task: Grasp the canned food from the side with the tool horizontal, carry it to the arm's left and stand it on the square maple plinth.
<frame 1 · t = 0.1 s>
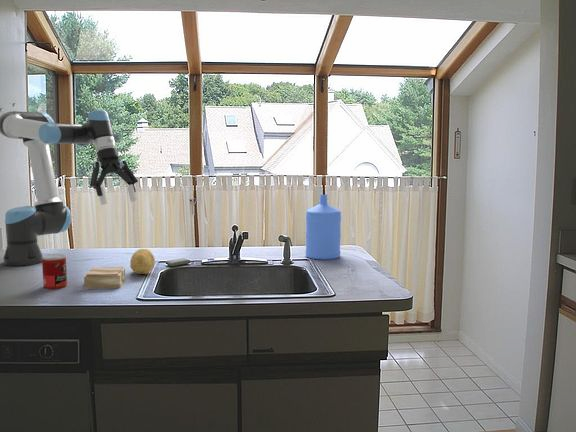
hand: (119, 202, 211), 28 cm above the countertop, tool tilted 20°, fingers open, 13 cm apart
water jug: (322, 256, 248), on the countertop
potato: (141, 274, 214), on the countertop
plinth: (105, 284, 198), on the countertop
canned food: (55, 287, 195), on the countertop
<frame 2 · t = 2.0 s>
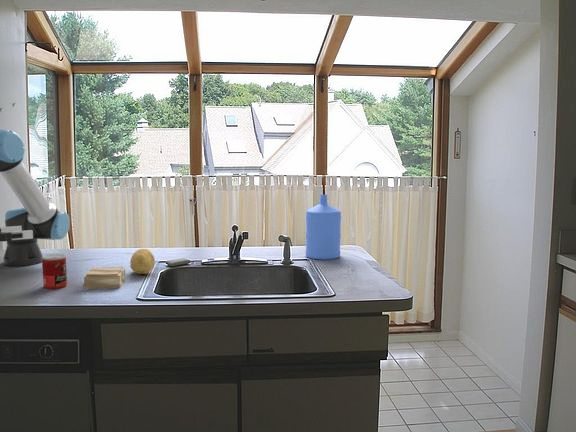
hand: (27, 231, 187), 20 cm above the countertop, tool horizontal, fingers open, 13 cm apart
nothing on the countertop moved.
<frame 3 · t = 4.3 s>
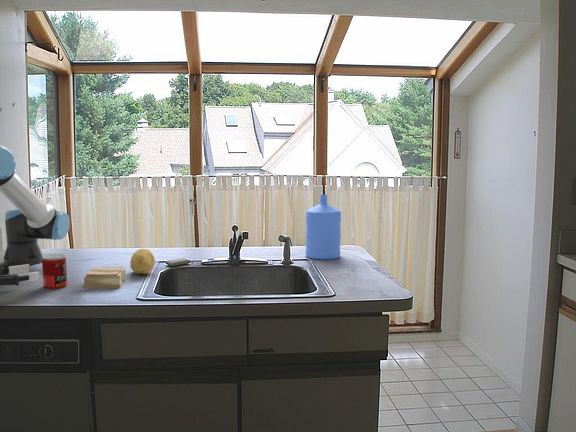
hand: (34, 271, 189), 6 cm above the countertop, tool horizontal, fingers open, 13 cm apart
nothing on the countertop moved.
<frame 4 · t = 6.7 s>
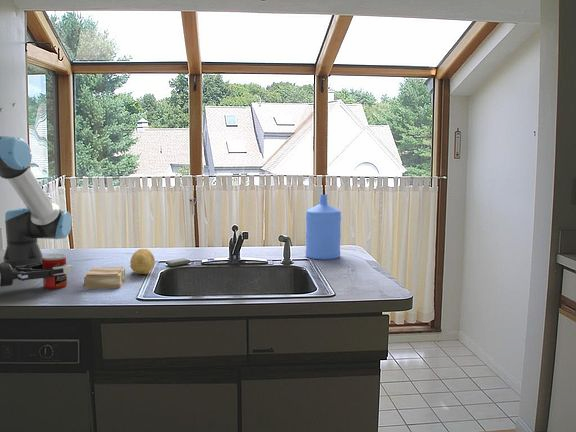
hand: (68, 266, 197), 7 cm above the countertop, tool horizontal, fingers closed on canned food, 8 cm apart
canned food: (55, 286, 195), on the countertop, touching gripper
everything else where it was.
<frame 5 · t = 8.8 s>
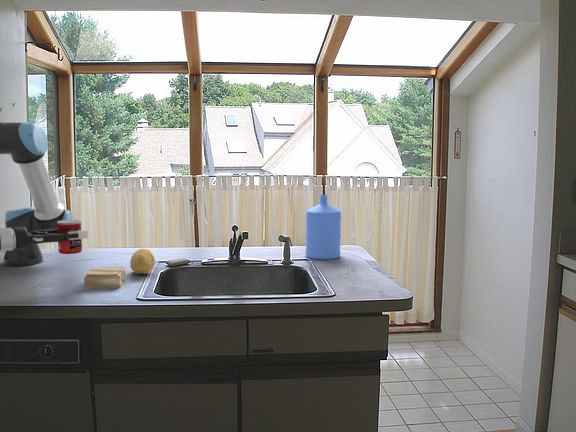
hand: (83, 232, 195), 19 cm above the countertop, tool horizontal, fingers closed on canned food, 8 cm apart
canned food: (70, 252, 193), point 12 cm above the countertop, touching gripper
everything else where it was.
when the fingers open (13 cm above the countertop, at t = 11.0 s): canned food drops 1 cm, resting on plinth.
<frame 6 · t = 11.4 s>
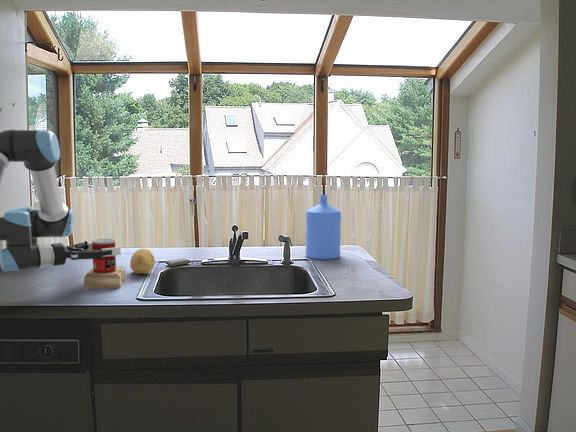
hand: (113, 247, 198), 13 cm above the countertop, tool horizontal, fingers open, 13 cm apart
canned food: (104, 271, 197), point 5 cm above the countertop, touching plinth
everything else where it was.
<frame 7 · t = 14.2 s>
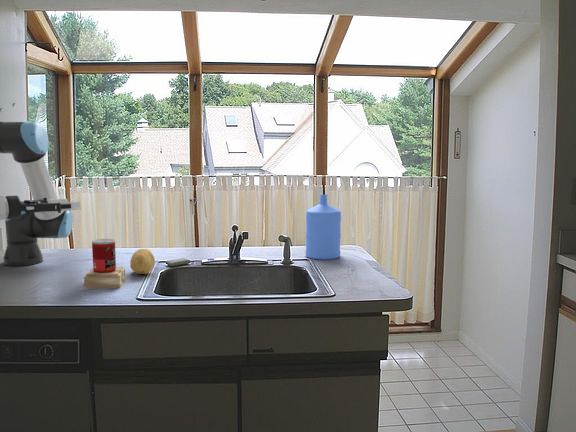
hand: (73, 203, 188), 30 cm above the countertop, tool horizontal, fingers open, 13 cm apart
nothing on the countertop moved.
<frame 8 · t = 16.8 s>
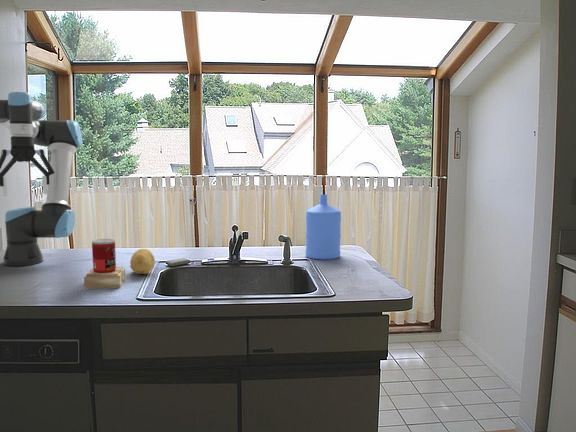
hand: (25, 194, 200), 32 cm above the countertop, tool pointing down, fingers open, 13 cm apart
nothing on the countertop moved.
at the end: canned food 0.1 cm from the plinth (horizontally); canned food touching plinth; canned food tilted 0° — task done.
